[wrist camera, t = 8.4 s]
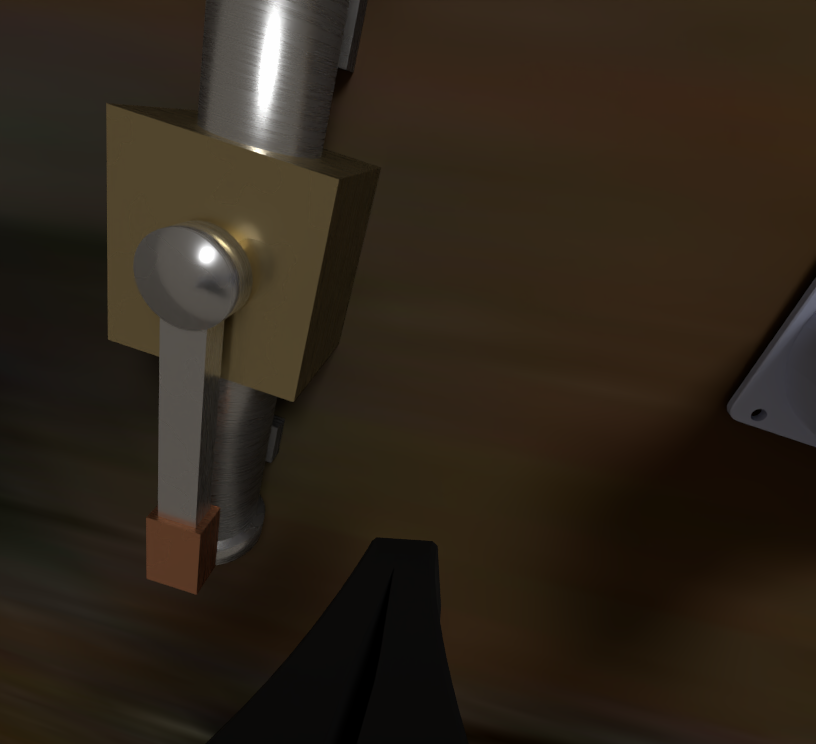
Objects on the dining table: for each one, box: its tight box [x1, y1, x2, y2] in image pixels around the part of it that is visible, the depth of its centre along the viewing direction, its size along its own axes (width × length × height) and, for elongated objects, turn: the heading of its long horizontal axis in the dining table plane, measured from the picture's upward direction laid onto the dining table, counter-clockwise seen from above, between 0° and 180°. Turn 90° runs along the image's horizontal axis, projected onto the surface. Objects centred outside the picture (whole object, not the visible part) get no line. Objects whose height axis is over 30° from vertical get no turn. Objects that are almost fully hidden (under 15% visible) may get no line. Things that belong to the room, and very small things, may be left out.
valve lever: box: [133, 220, 253, 595], centre depth 16 cm, size 14×3×1 cm, turn 166°
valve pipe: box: [106, 0, 381, 565], centre depth 17 cm, size 6×26×5 cm, turn 164°
